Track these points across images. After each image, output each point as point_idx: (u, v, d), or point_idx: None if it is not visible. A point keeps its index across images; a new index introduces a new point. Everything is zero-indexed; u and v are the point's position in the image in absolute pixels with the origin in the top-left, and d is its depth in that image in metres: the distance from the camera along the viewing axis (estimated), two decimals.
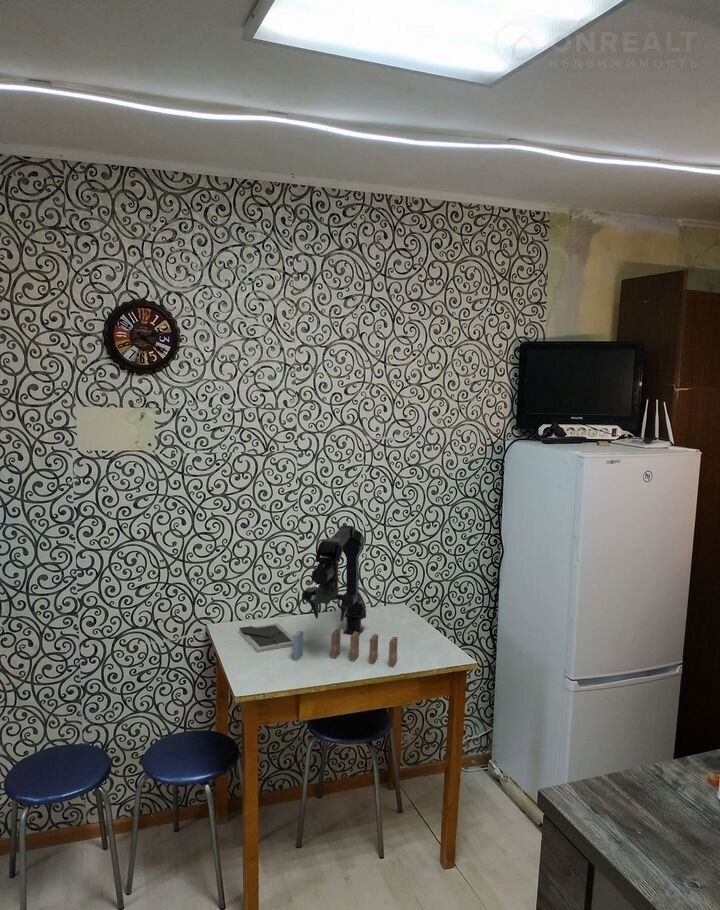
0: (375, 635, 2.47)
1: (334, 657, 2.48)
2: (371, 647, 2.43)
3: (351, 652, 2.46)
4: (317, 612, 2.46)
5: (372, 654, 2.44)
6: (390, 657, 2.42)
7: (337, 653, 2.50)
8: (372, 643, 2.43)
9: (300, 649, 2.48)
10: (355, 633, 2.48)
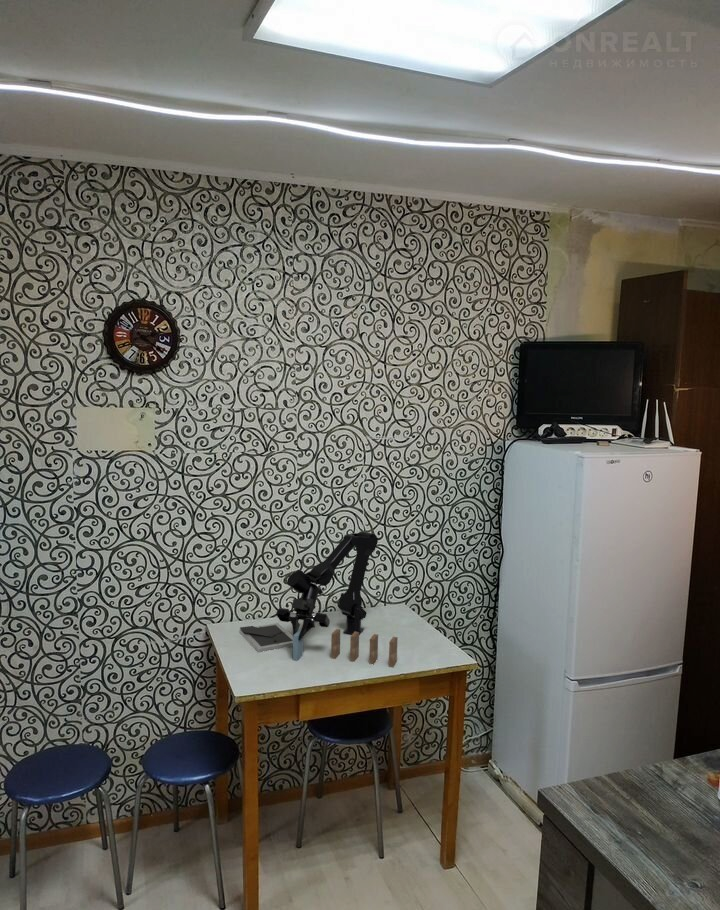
0: (375, 635, 2.47)
1: (334, 657, 2.48)
2: (371, 647, 2.43)
3: (351, 652, 2.46)
4: None
5: (372, 654, 2.44)
6: (390, 657, 2.42)
7: (337, 653, 2.50)
8: (372, 643, 2.43)
9: (300, 649, 2.48)
10: (355, 633, 2.48)
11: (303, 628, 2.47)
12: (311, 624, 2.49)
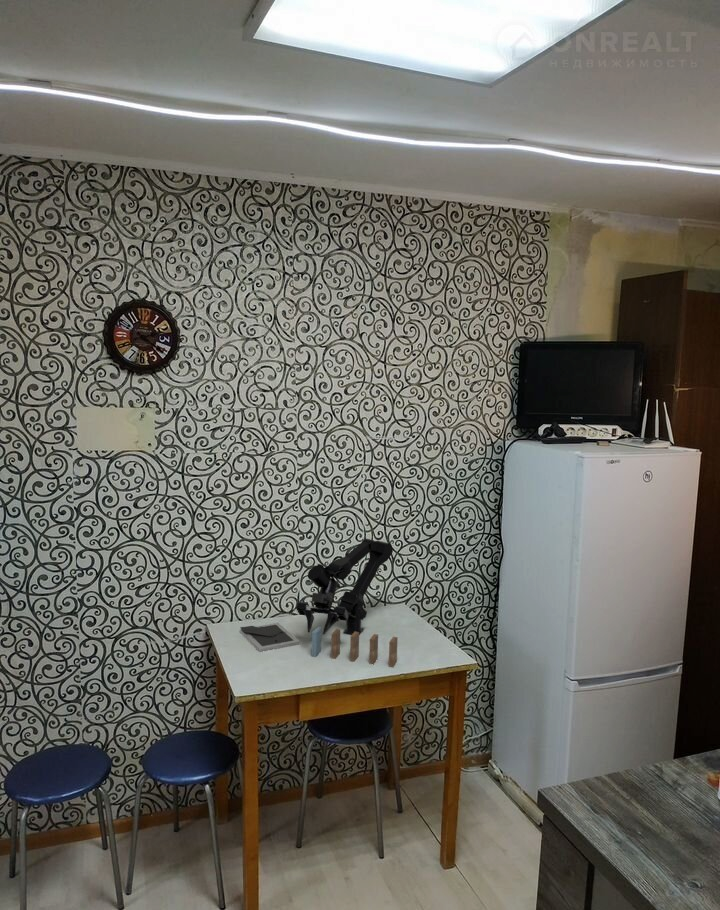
0: (375, 635, 2.47)
1: (334, 657, 2.48)
2: (371, 647, 2.43)
3: (351, 652, 2.46)
4: (310, 626, 2.52)
5: (372, 654, 2.44)
6: (390, 657, 2.42)
7: (337, 653, 2.50)
8: (372, 643, 2.43)
9: (319, 646, 2.52)
10: (355, 633, 2.48)
11: (327, 622, 2.51)
12: (335, 618, 2.53)
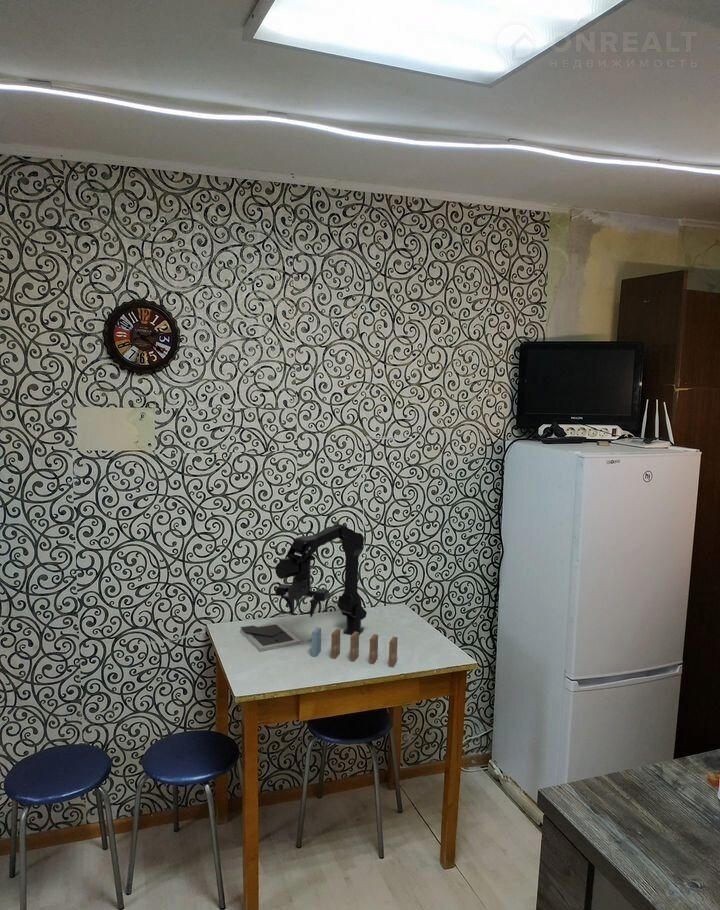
0: (375, 635, 2.47)
1: (334, 657, 2.48)
2: (371, 647, 2.43)
3: (351, 652, 2.46)
4: (293, 608, 2.54)
5: (372, 654, 2.44)
6: (390, 657, 2.42)
7: (337, 653, 2.50)
8: (372, 643, 2.43)
9: (318, 646, 2.52)
10: (355, 633, 2.48)
11: (312, 607, 2.50)
12: None
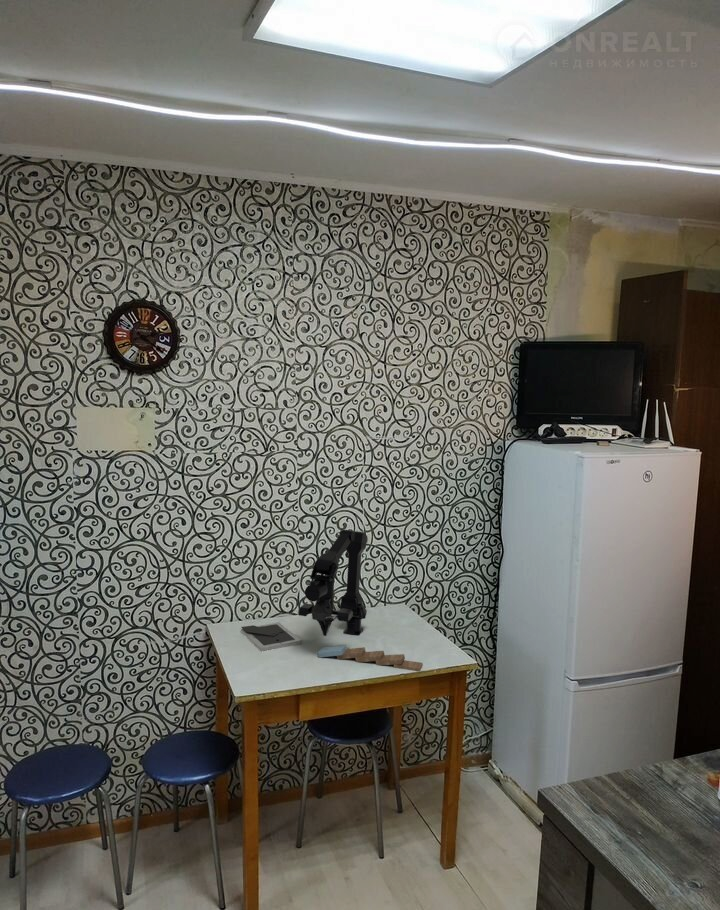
0: (403, 658, 2.45)
1: (338, 658, 2.48)
2: (393, 662, 2.42)
3: (363, 658, 2.45)
4: None
5: (386, 663, 2.43)
6: (403, 667, 2.41)
7: None
8: (397, 662, 2.41)
9: None
10: (382, 654, 2.46)
11: (326, 626, 2.49)
12: None
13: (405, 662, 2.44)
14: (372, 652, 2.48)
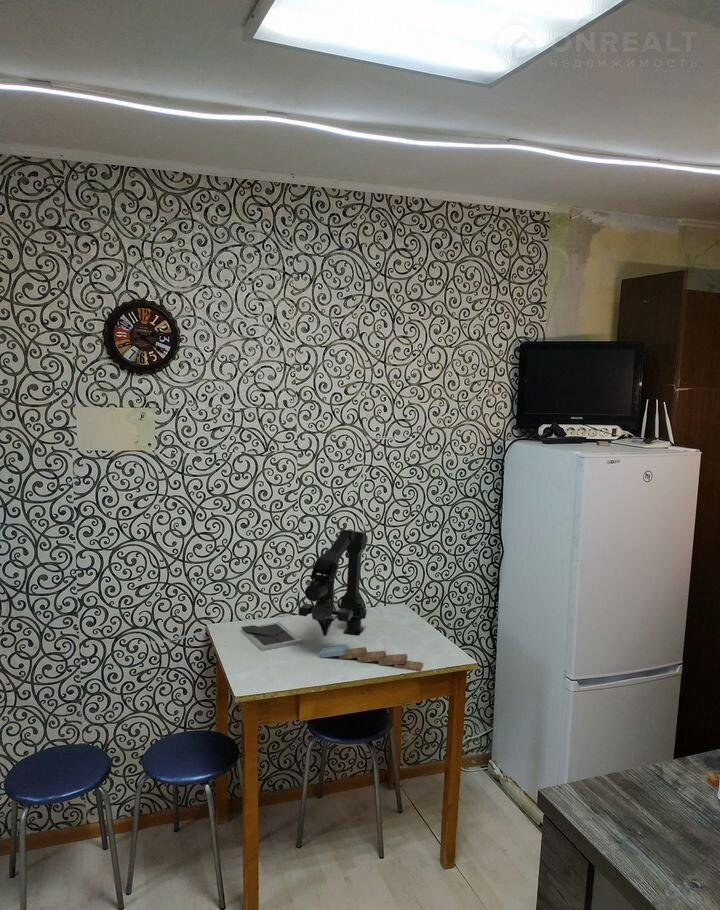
0: (406, 657, 2.44)
1: (340, 658, 2.48)
2: (395, 661, 2.42)
3: (365, 658, 2.45)
4: None
5: (389, 663, 2.42)
6: (404, 667, 2.41)
7: None
8: (400, 662, 2.41)
9: None
10: (384, 654, 2.46)
11: (327, 626, 2.49)
12: None
13: (406, 662, 2.44)
14: (373, 652, 2.48)
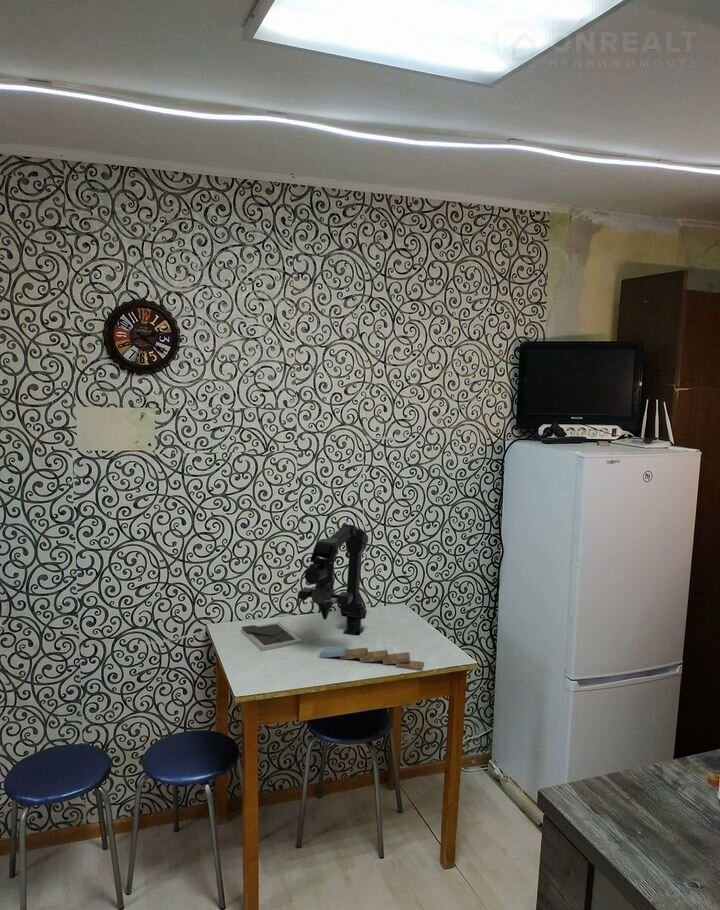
0: (409, 655, 2.46)
1: (341, 658, 2.47)
2: (400, 660, 2.43)
3: (368, 658, 2.45)
4: None
5: (393, 662, 2.43)
6: (405, 667, 2.41)
7: None
8: (404, 660, 2.43)
9: None
10: (386, 654, 2.46)
11: (326, 610, 2.48)
12: None
13: (407, 662, 2.44)
14: (375, 652, 2.48)
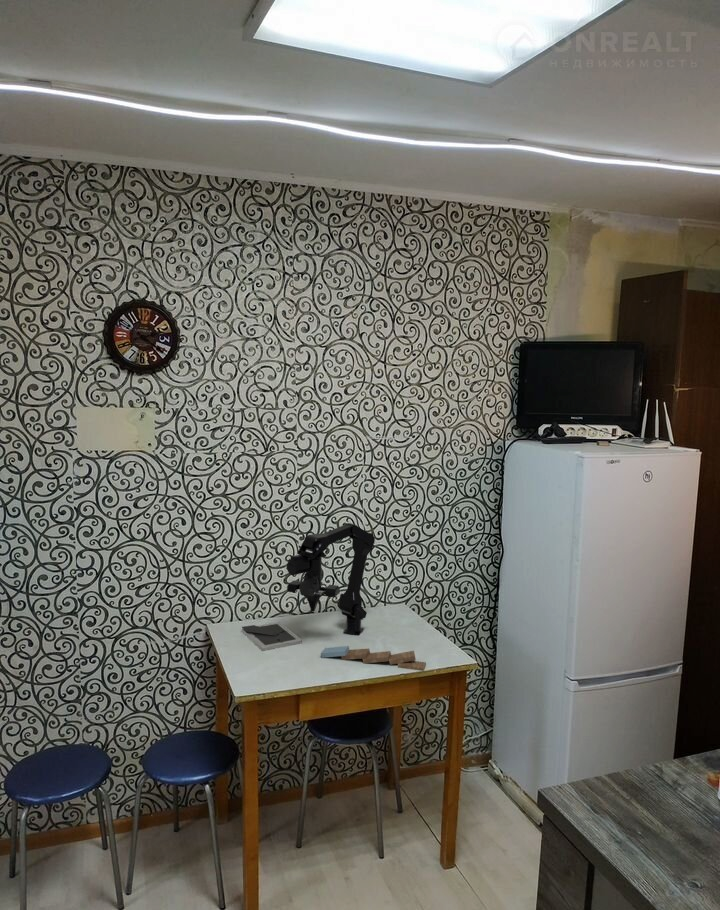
0: None
1: (343, 658, 2.47)
2: (406, 659, 2.43)
3: (371, 659, 2.44)
4: None
5: (400, 661, 2.43)
6: (407, 667, 2.41)
7: None
8: (411, 659, 2.43)
9: None
10: (389, 655, 2.46)
11: (314, 602, 2.56)
12: None
13: (408, 662, 2.44)
14: (378, 653, 2.47)
